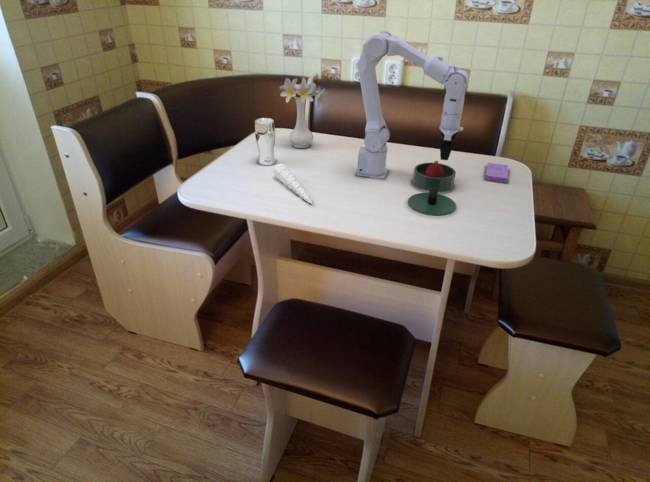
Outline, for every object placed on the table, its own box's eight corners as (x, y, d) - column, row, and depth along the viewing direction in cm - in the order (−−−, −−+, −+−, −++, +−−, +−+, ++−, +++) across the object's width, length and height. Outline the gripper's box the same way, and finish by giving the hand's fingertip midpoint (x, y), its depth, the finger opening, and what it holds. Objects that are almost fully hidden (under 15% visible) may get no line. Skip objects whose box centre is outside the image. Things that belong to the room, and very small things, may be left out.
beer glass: (280, 160, 164) (278, 119, 156) (268, 167, 159) (266, 125, 151) (265, 156, 167) (262, 116, 159) (253, 162, 162) (250, 121, 154)
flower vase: (321, 154, 170) (321, 85, 157) (275, 148, 174) (272, 81, 161) (330, 142, 181) (331, 77, 168) (287, 137, 185) (285, 73, 172)
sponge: (484, 180, 152) (485, 174, 151) (486, 166, 162) (487, 161, 161) (506, 183, 150) (508, 178, 149) (507, 169, 160) (508, 164, 159)
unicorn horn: (300, 207, 133) (300, 192, 131) (272, 177, 152) (272, 164, 149) (315, 204, 135) (315, 190, 133) (286, 175, 153) (285, 162, 151)
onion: (441, 188, 145) (445, 165, 141) (423, 186, 146) (427, 163, 142) (441, 181, 150) (445, 158, 146) (424, 179, 151) (427, 156, 147)
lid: (404, 213, 131) (406, 196, 129) (410, 193, 143) (412, 177, 140) (454, 220, 128) (457, 204, 125) (456, 199, 140) (459, 183, 137)
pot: (410, 190, 144) (412, 175, 142) (415, 174, 155) (417, 160, 153) (451, 196, 141) (454, 181, 139) (454, 179, 152) (456, 165, 149)
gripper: (465, 120, 129) (456, 165, 136) (466, 107, 141) (458, 148, 148) (439, 118, 131) (433, 162, 138) (443, 105, 143) (437, 146, 150)
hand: (445, 155), depth 143 cm, fingers open, 7 cm apart
